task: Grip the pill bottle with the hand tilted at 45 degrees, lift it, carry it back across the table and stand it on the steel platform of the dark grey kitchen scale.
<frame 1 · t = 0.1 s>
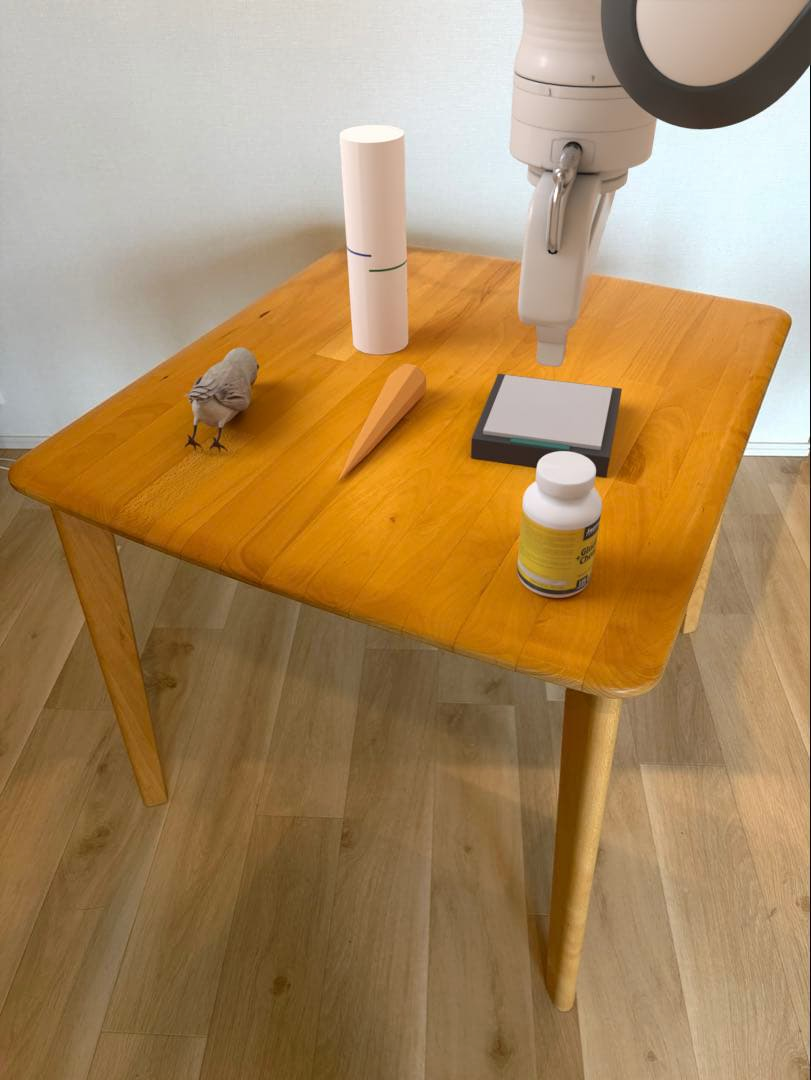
hand: (560, 330, 61), 23 cm above the table, tool pointing down, fingers open, 8 cm apart
cylindrical container: (380, 343, 110), on the table
scale: (547, 432, 93), on the table
carrot: (376, 435, 93), on the table
decorative bird: (230, 420, 96), on the table
pill bottle: (552, 577, 75), on the table
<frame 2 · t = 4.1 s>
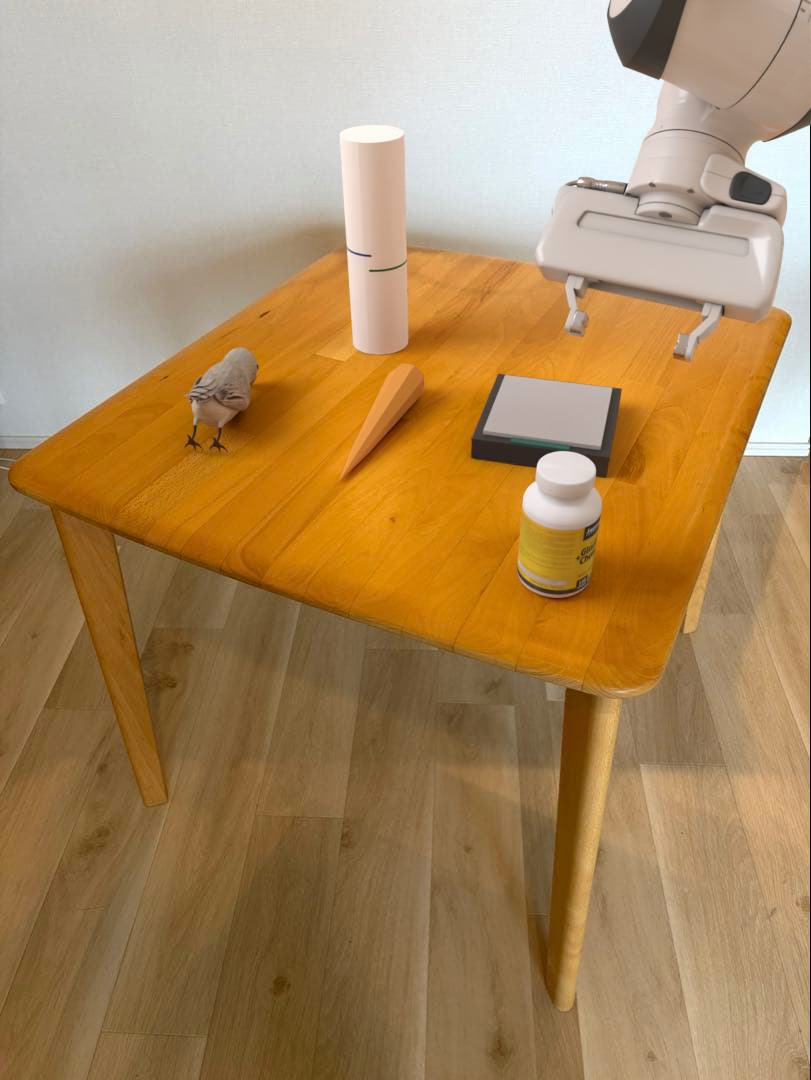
hand: (626, 345, 72), 17 cm above the table, tool tilted 45°, fingers open, 8 cm apart
nothing on the table moved.
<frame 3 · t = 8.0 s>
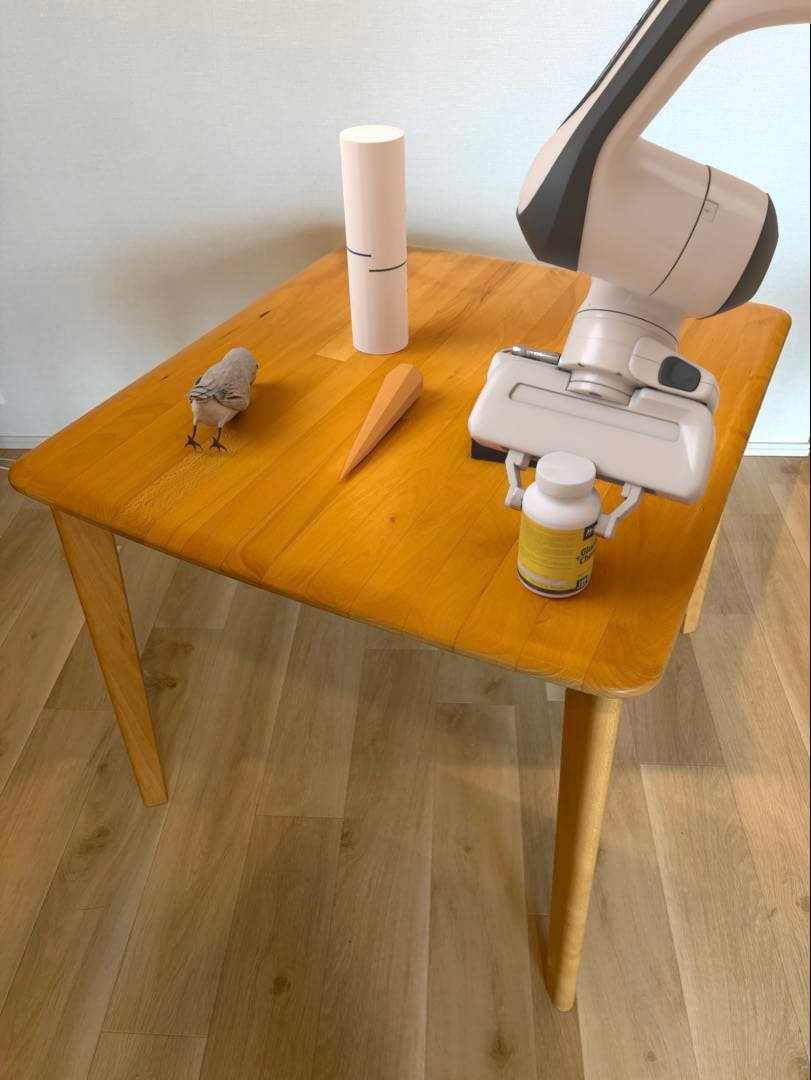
hand: (557, 523, 70), 6 cm above the table, tool tilted 45°, fingers closed on pill bottle, 6 cm apart
pill bottle: (552, 577, 75), on the table, touching gripper
everything else where it was.
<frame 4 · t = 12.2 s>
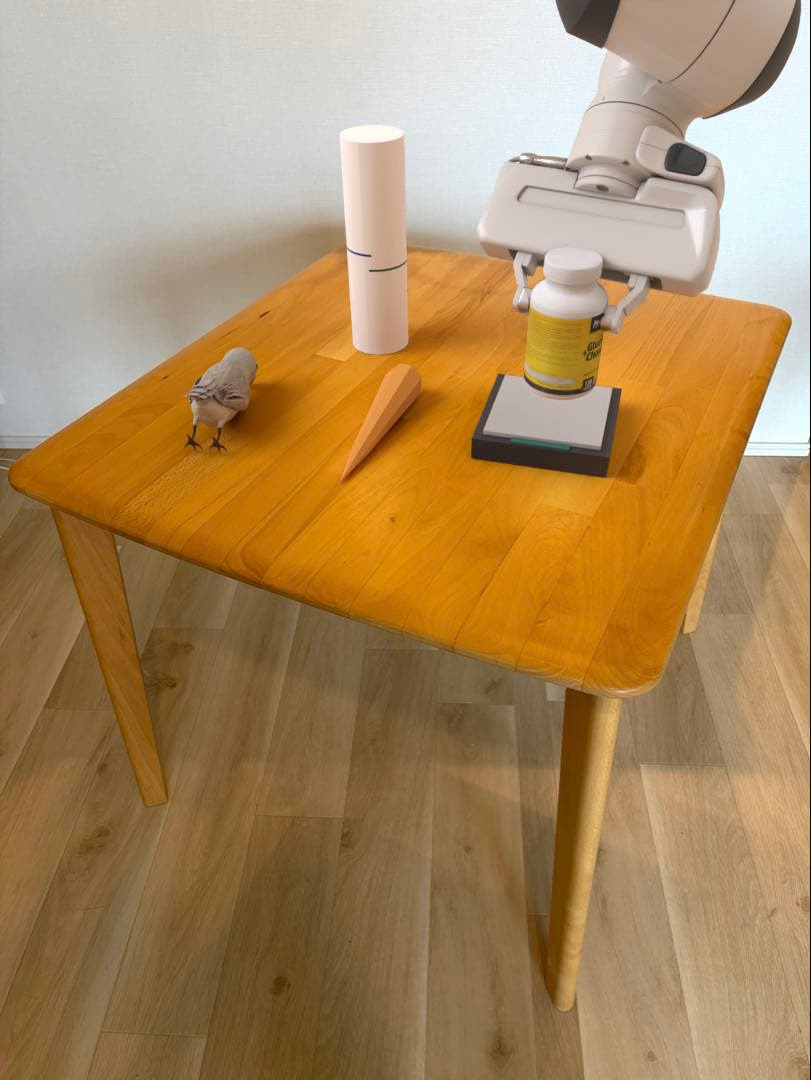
hand: (564, 320, 72), 19 cm above the table, tool tilted 45°, fingers closed on pill bottle, 6 cm apart
pill bottle: (559, 386, 76), point 12 cm above the table, touching gripper
everything else where it was.
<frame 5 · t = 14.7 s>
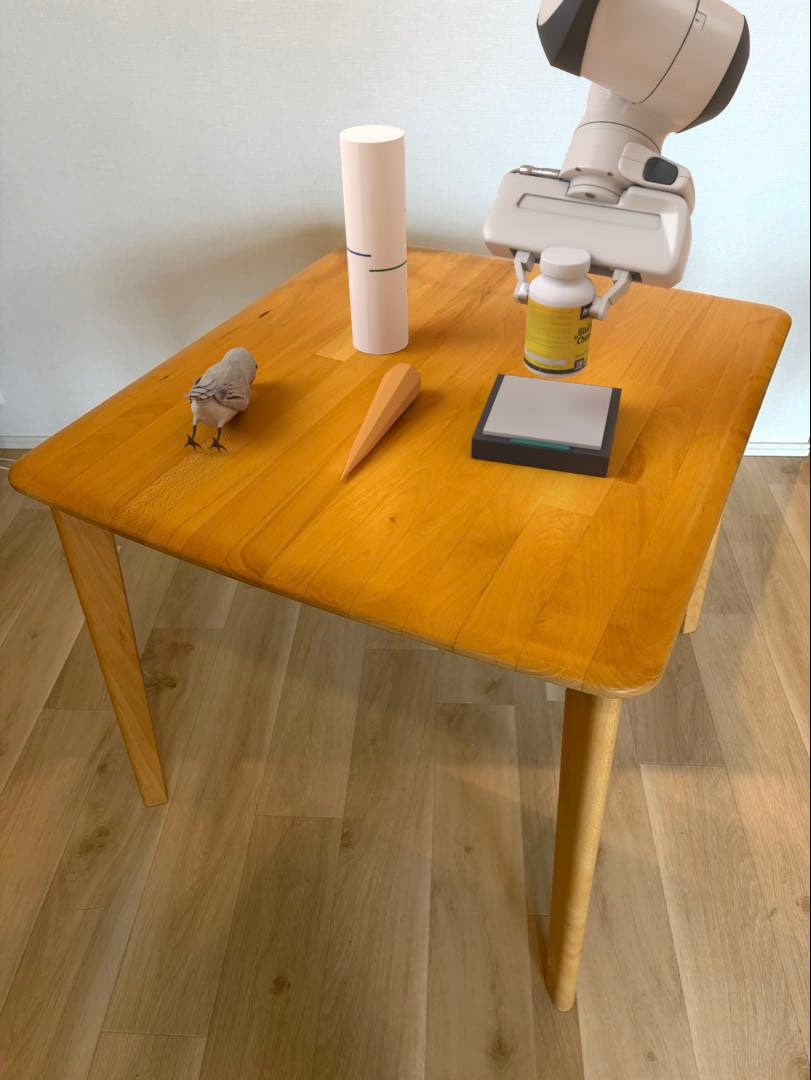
hand: (558, 309, 83), 14 cm above the table, tool tilted 45°, fingers closed on pill bottle, 6 cm apart
pill bottle: (554, 367, 88), point 8 cm above the table, touching gripper
everything else where it was.
when the fingers open (9 cm above the table, at t = 16.7 s): pill bottle stays where it is, resting on scale.
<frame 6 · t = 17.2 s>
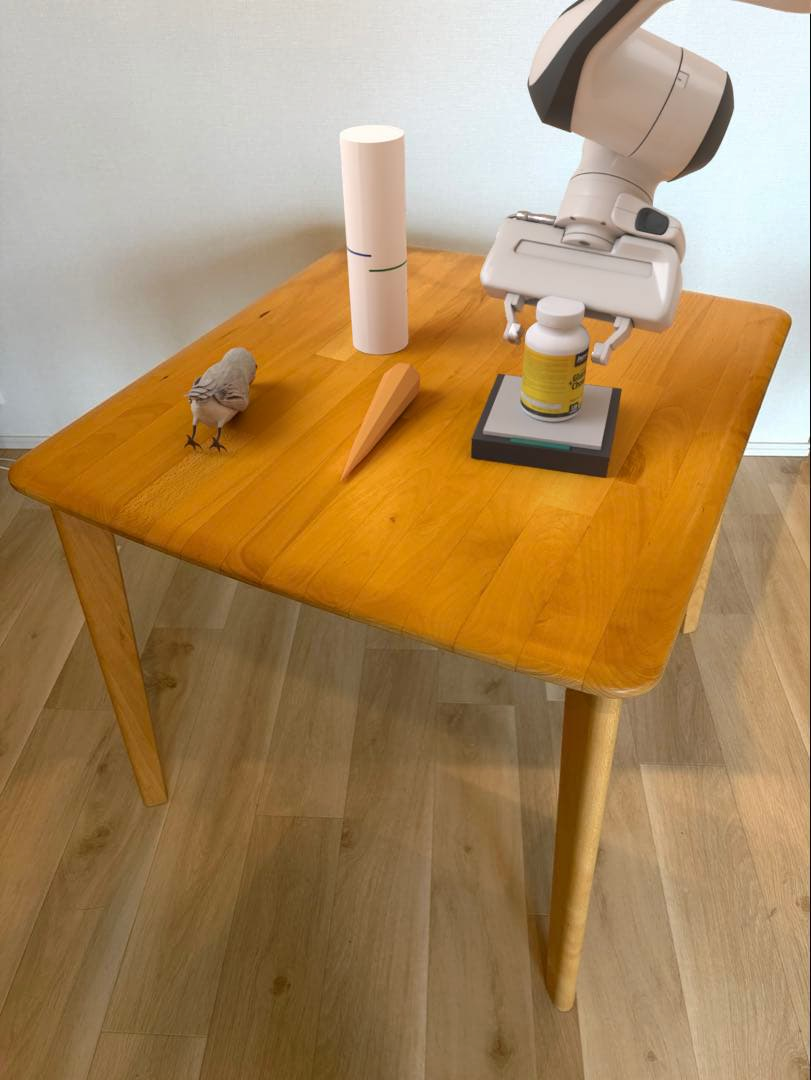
hand: (553, 352, 86), 10 cm above the table, tool tilted 45°, fingers open, 8 cm apart
pill bottle: (550, 409, 91), point 3 cm above the table, touching scale
everything else where it was.
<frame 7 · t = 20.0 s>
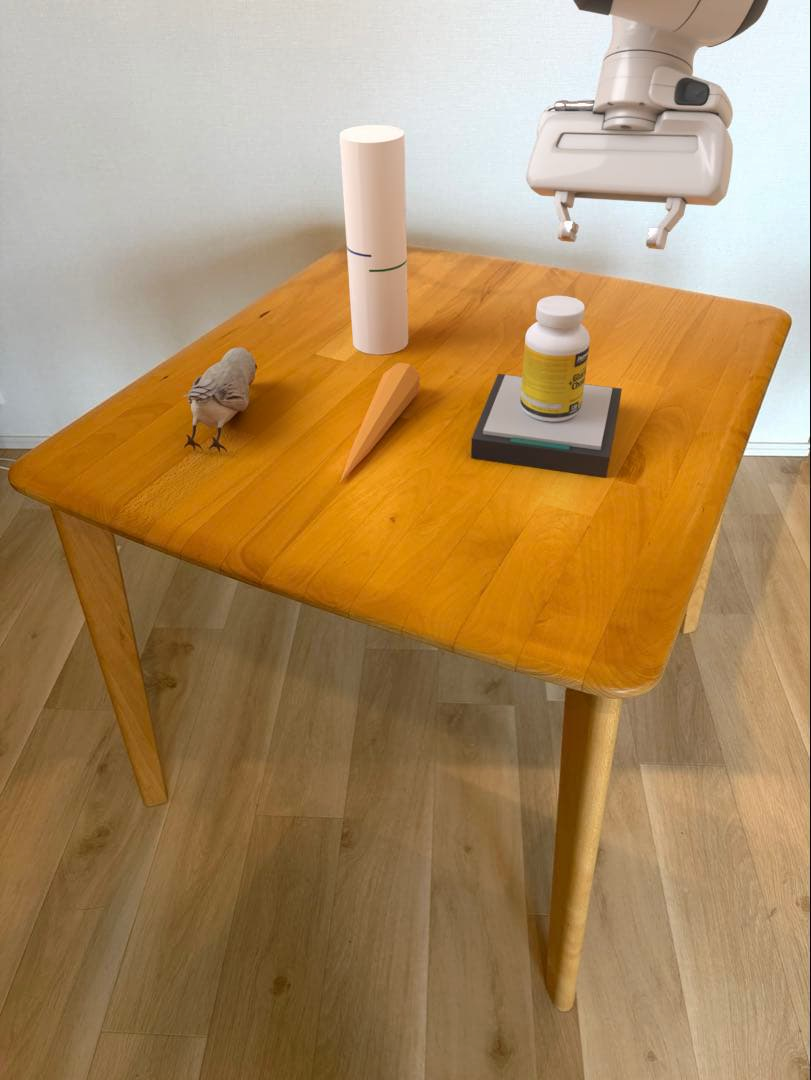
hand: (609, 244, 87), 18 cm above the table, tool tilted 30°, fingers open, 8 cm apart
nothing on the table moved.
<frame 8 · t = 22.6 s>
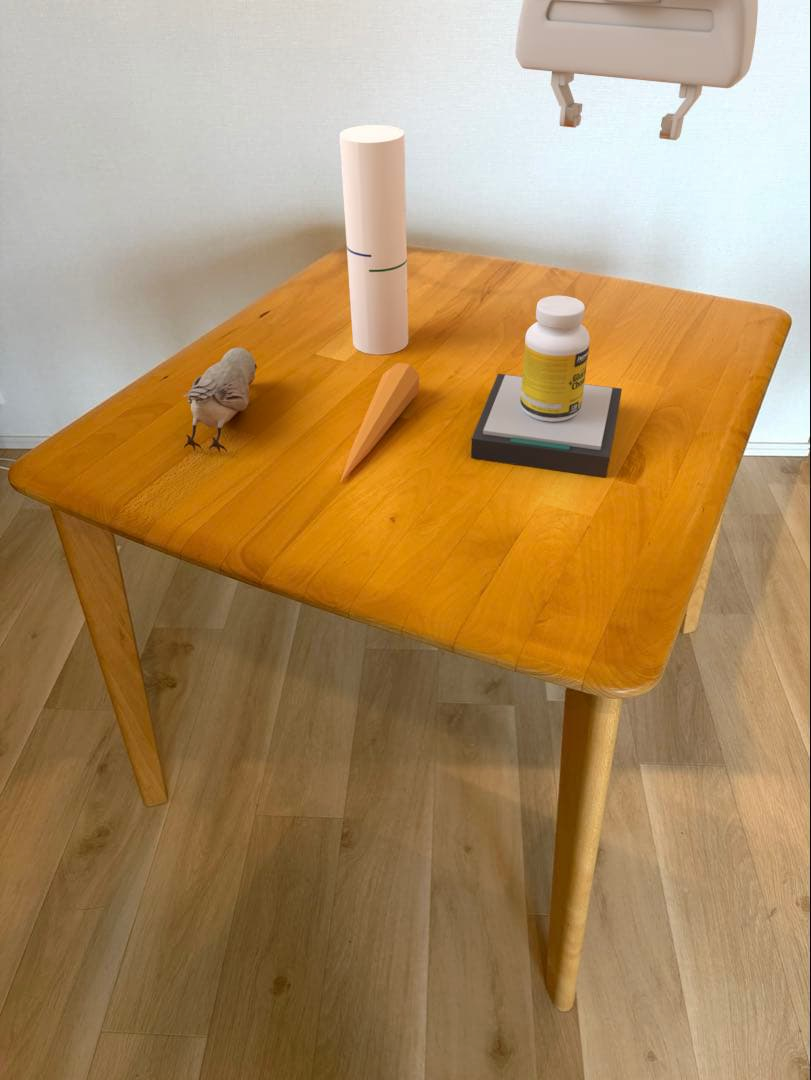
hand: (618, 131, 78), 29 cm above the table, tool pointing down, fingers open, 8 cm apart
nothing on the table moved.
at the end: pill bottle inside the target area on the scale (0.0 cm from its centre), point 2.8 cm above the scale's base; pill bottle tilted 0°; the gripper is holding nothing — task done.
